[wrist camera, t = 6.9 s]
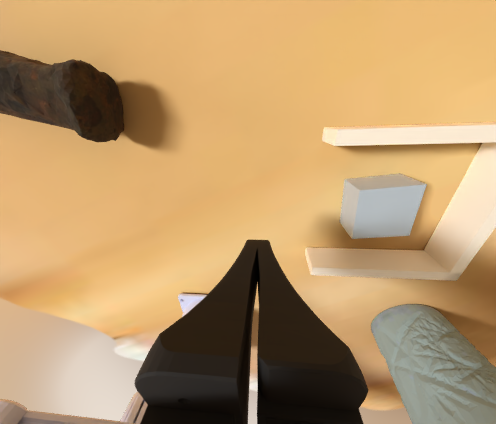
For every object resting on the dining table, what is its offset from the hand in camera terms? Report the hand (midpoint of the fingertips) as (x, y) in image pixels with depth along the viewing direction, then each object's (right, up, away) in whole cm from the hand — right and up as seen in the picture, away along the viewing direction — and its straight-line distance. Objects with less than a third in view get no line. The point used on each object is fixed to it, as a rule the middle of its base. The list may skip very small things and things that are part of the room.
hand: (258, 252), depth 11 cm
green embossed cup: (+21, -12, +13) cm, 28 cm away
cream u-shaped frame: (+12, +3, +5) cm, 14 cm away
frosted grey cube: (+11, +4, +6) cm, 13 cm away
